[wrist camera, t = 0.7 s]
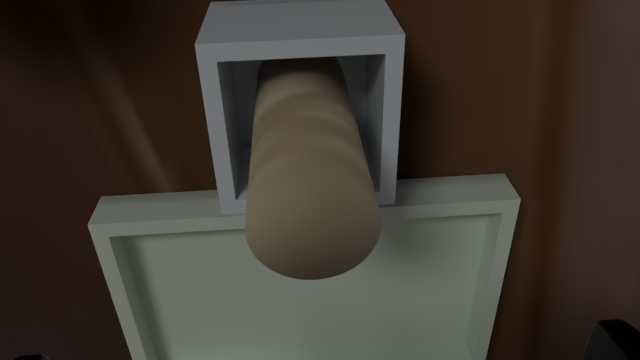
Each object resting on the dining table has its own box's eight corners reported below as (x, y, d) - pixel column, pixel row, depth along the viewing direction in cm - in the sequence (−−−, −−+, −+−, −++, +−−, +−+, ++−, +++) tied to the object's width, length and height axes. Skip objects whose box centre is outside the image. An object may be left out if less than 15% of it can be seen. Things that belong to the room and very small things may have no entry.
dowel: (344, 39, 18) (384, 168, 11) (344, 120, 19) (378, 275, 13) (252, 43, 18) (237, 176, 11) (260, 125, 19) (251, 284, 13)
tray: (504, 173, 22) (520, 199, 20) (472, 340, 27) (483, 370, 26) (101, 196, 21) (87, 224, 20) (151, 362, 27) (144, 394, 25)
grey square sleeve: (381, -6, 18) (405, 34, 14) (375, 142, 21) (394, 203, 17) (210, 2, 17) (194, 44, 14) (230, 150, 20) (221, 214, 17)
